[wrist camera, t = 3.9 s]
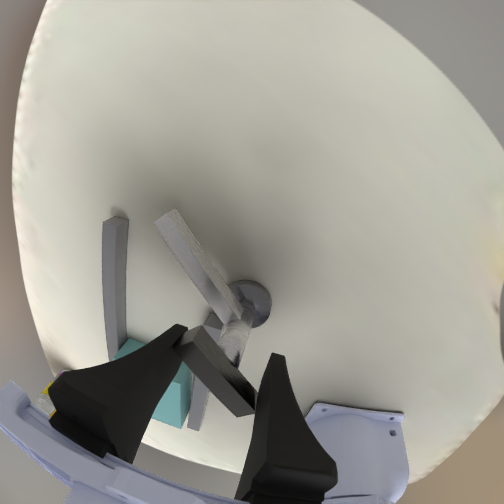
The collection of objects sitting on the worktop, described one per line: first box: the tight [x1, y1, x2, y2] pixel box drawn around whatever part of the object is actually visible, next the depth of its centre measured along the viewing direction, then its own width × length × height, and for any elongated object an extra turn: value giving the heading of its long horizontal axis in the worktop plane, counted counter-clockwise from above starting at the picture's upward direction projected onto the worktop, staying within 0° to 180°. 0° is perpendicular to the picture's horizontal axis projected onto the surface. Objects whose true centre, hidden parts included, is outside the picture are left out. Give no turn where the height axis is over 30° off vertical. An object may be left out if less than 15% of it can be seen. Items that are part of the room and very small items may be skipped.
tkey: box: [153, 208, 258, 417], centre depth 14 cm, size 10×1×7 cm, turn 33°
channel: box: [102, 217, 225, 431], centre depth 21 cm, size 9×19×2 cm, turn 167°
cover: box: [113, 338, 192, 429], centre depth 22 cm, size 6×7×3 cm
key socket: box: [229, 280, 272, 328], centre depth 18 cm, size 3×3×1 cm
